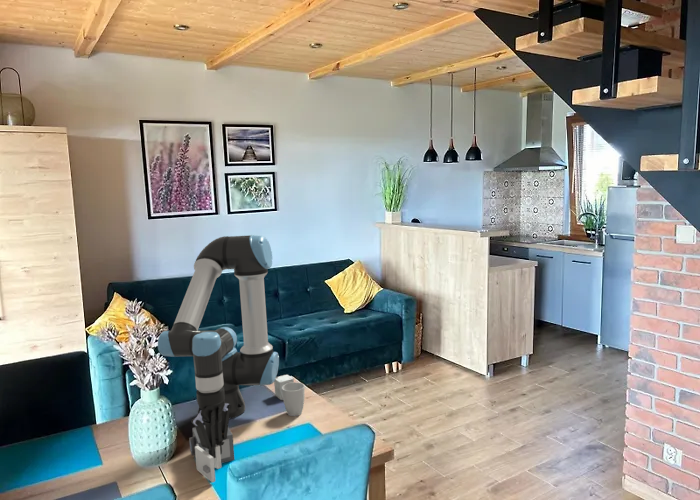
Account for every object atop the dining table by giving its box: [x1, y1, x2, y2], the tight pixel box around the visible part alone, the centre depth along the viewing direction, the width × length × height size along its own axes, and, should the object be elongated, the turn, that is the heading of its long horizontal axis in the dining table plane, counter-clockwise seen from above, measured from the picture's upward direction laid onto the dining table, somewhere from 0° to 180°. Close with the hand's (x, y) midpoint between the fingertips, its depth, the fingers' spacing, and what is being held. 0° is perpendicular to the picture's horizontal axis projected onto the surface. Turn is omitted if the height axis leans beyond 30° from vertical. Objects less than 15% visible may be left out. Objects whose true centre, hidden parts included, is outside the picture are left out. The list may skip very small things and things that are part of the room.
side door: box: [194, 444, 216, 483], centre depth 147 cm, size 2×11×7 cm, turn 42°
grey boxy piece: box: [188, 424, 235, 464], centre depth 158 cm, size 11×12×9 cm
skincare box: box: [273, 374, 295, 401], centre depth 203 cm, size 6×6×7 cm
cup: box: [282, 381, 306, 417], centre depth 187 cm, size 8×8×10 cm
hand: (216, 466), depth 148 cm, fingers closed
